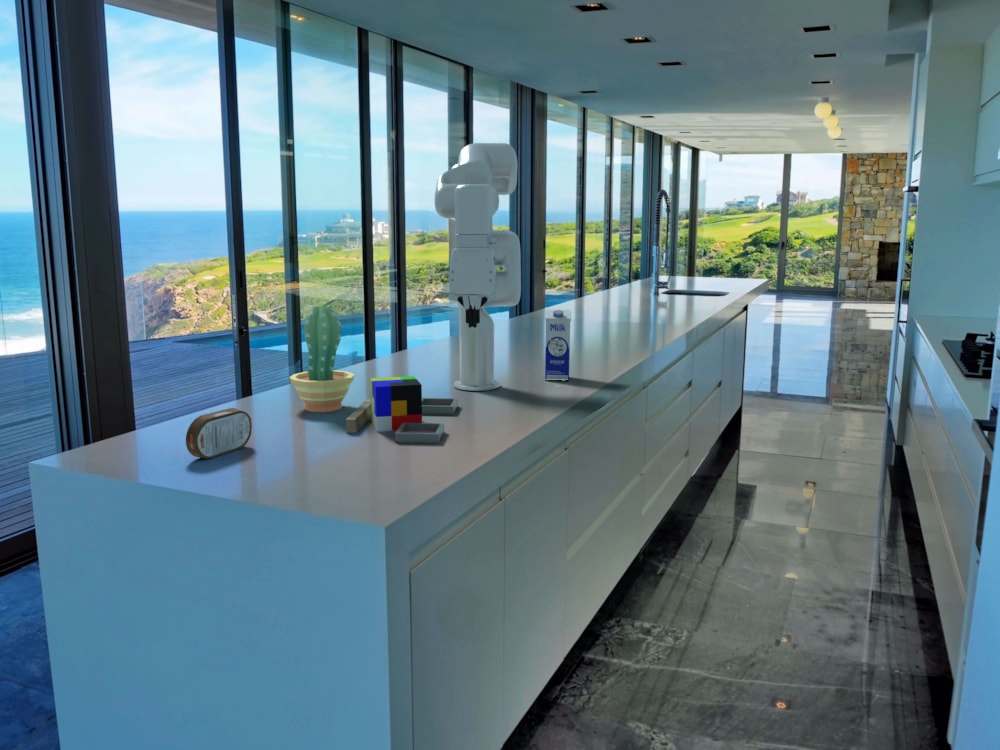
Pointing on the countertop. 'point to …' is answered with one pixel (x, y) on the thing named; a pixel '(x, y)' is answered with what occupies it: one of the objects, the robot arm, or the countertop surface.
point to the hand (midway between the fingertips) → (472, 326)
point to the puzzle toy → (395, 402)
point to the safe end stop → (358, 417)
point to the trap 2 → (439, 406)
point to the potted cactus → (322, 363)
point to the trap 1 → (419, 433)
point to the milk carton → (557, 344)
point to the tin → (218, 433)
